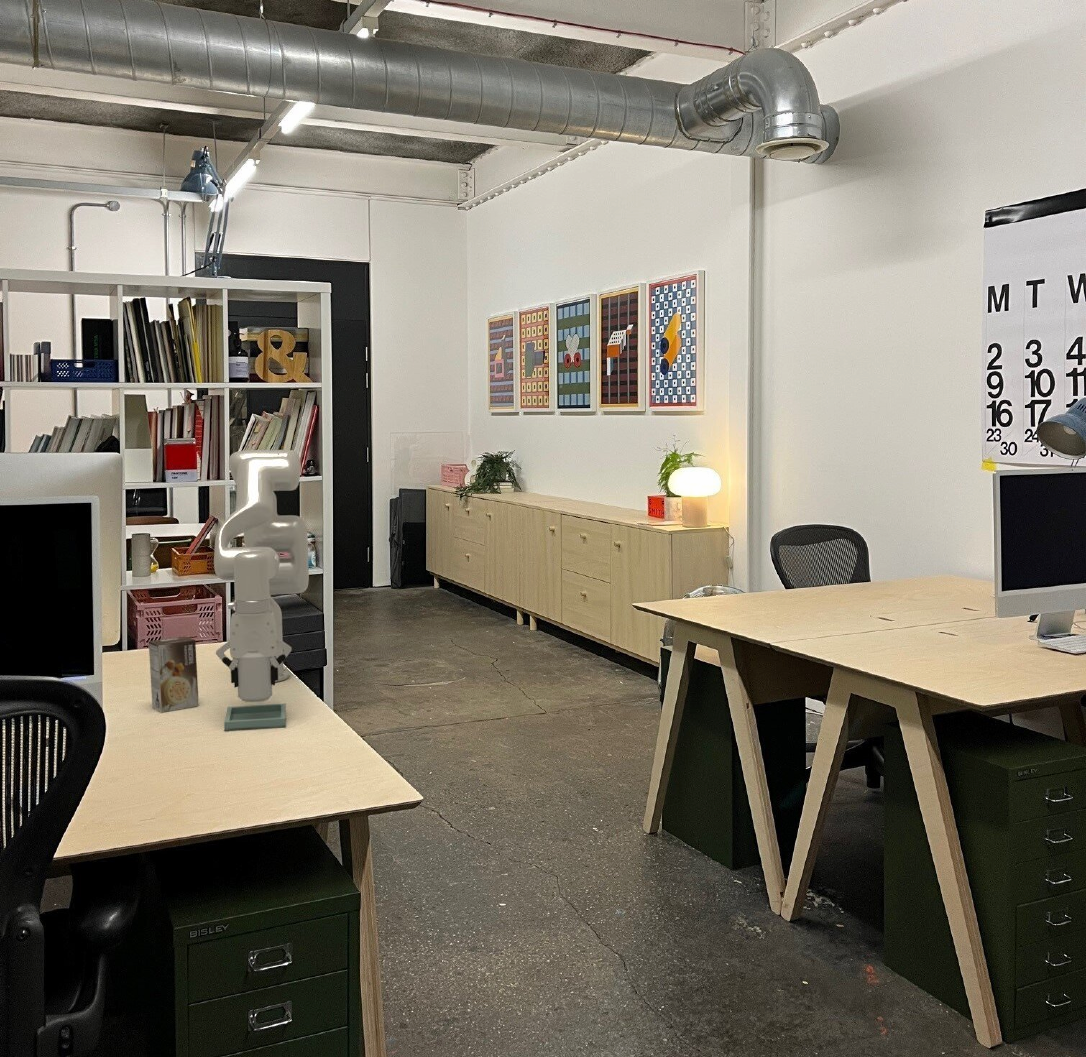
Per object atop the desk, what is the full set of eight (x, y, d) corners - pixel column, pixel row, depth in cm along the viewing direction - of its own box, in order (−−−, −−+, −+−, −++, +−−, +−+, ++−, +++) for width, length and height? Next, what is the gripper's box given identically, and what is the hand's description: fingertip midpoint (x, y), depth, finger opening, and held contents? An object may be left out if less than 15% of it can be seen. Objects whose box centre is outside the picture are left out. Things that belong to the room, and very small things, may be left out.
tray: (227, 715, 253) (227, 706, 252) (285, 711, 255) (285, 703, 255) (224, 731, 240) (224, 722, 240) (285, 727, 243) (285, 718, 243)
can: (279, 697, 248) (278, 645, 247) (255, 704, 242) (253, 651, 241) (255, 693, 252) (253, 641, 251) (230, 700, 246) (229, 647, 244)
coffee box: (188, 701, 265) (186, 635, 264) (199, 706, 260) (197, 639, 259) (150, 707, 260) (148, 640, 258) (161, 713, 255) (158, 644, 253)
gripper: (210, 611, 239) (213, 691, 241) (292, 608, 243) (294, 686, 245) (213, 605, 247) (215, 683, 248) (292, 602, 251) (294, 678, 252)
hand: (255, 684), depth 247 cm, fingers closed on can, 7 cm apart
